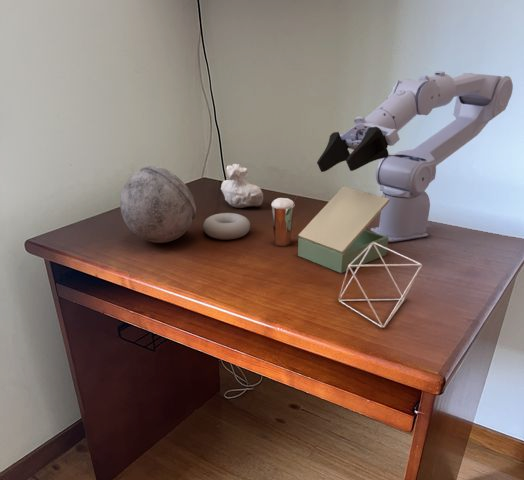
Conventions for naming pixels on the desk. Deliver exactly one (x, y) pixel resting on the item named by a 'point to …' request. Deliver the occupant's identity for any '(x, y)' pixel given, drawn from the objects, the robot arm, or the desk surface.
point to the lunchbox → (340, 260)
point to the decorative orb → (157, 205)
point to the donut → (226, 226)
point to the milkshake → (282, 220)
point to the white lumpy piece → (240, 188)
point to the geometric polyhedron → (389, 274)
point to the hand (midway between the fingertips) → (334, 166)
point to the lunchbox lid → (343, 219)
